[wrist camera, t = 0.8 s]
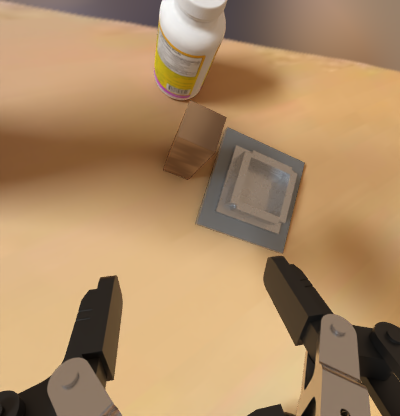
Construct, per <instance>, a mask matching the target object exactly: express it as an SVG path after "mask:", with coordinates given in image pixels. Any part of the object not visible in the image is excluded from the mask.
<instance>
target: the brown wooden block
mask: <svg viewBox="0 0 400 416" xmlns="http://www.w3.org/2000/svg"><path fill="white" fill-rule="evenodd" d="M225 120H226V117H225V116H223V115H221V114H218V113H216V112H214V111H212V110H210V109H208V108H206V107H204V106H202V105H199V104H197V103H195V102H193V101H191V100H190V102H189V104H188V107H187V109H186V112H185V114H184V117H183V119H182V122H181V124H180V126H179V129H178V131H177V134H176V136H175V139H174V141H173V144H172V146H171V149H170V152H169V154H168V157H167V160H166V163H165V165H164V168H163V170H164V171H167V172H170V173H172V174H175V175H177V176H180V177H182V178H185V179H187V180H188V179H189V178H190V177H191V176H192V175H193V174H194V173H195V172H196V171H197V170H198V169H199V168H200V167H201V166H202V165H203V164H204V163H205V162H206V161H207V160H208V159H209V158H210V157H211V156H212V155H213V154H214V153H215V152H216V148H217V145H218V142H219V139H220V136H221V133H222V130H223V127H224V124H225Z"/></svg>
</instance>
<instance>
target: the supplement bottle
mask: <svg viewBox="0 0 400 416" xmlns="http://www.w3.org/2000/svg"><path fill="white" fill-rule="evenodd" d="M226 2H227V0H162V3H161V6H160V13H159V24H158V34H157V45H156V55H155V65H154V77H155V81H156V83H157V85H158V87H159V88H160V89H161V91H162V92H163V93H164V94H166V95H167V96H169V97H171V98H173V99H176V100H187V99H190V98H192V97H194V96H195V95H196V94H197V93H198V92H199V91H200V89H201V87H202V85H203V83H204V81H205V78H206V76H207V74H208V71H209V69H210V67H211V65H212V62H213V60H214V58H215V55H216V53H217V51H218V49H219V47H220V44H221V42H222V40H223V37H224V34H225V28H226V21H225V15H224V8H225V5H226Z"/></svg>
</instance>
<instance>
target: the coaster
mask: <svg viewBox="0 0 400 416" xmlns="http://www.w3.org/2000/svg"><path fill="white" fill-rule="evenodd" d="M236 145H237V146H239V147H242V148H244V149H246V150H248V151H253V150H254V151H256V152H259V153H261V154H263V155H265V156H267V157H270V158H272V159H274V160H276V161H279V162H281V163H283V164H285V165H287V166H290V167H292V170H293V171H294V172H295V173H297V178H296V182H295V186H294V190H293V194H292V198H291V202H290V206H289V210H288V214H287V218H286V222H285V223H281V227H280V231H279V234H274V233H272V232H269V231H266V230H264V229H261V228H258V227H255V226H253V225H250V224H247V223H244V222H242V221H239V220H236V219H234V218H231V217H228V216H225V215H223V214H220V213H217V212H215V209H216V205H217V202H218V199H219V196H220V192H221V189H222V186H223V183H224V179H225V176H226V173H227V169H228V166H229V163H230V160H231V156H232V153H233V150H234V147H235V146H236ZM304 164H305V163H304V162H302V161H300V160H298V159H295V158H293V157H291V156H289V155H287V154H285V153H282V152H280V151H278V150H276V149H274V148H272V147H269V146H267V145H265V144H263V143H261V142H259V141H257V140H254V139H252V138H250V137H248V136H246V135H244V134H241V133H239V132H237V131H235V130H233V129H231V128H228V127H227V129H226V130H225V132H224V135H223V138H222V141H221V144H220V147H219V151H218V154H217V157H216V160H215V163H214V166H213V169H212V173H211V176H210V179H209V182H208V185H207V188H206V191H205V195H204V198H203V201H202V204H201V207H200V210H199V213H198V216H197V220H196V223H195V224H197V225H200V226H203V227H206V228H208V229H211V230H214V231H217V232H220V233H223V234H226V235H229V236H231V237H234V238H237V239H240V240H243V241H246V242H249V243H252V244H255V245H257V246H260V247H263V248H266V249H269V250H272V251H275V252H278V253H283V250H284V246H285V242H286V238H287V234H288V230H289V226H290V221H291V217H292V213H293V209H294V205H295V201H296V197H297V192H298V188H299V184H300V180H301V176H302V172H303V168H304Z"/></svg>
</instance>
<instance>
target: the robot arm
mask: <svg viewBox="0 0 400 416" xmlns="http://www.w3.org/2000/svg"><path fill="white" fill-rule="evenodd" d="M263 280H264V285H265V288H266V290H267V291H268V293H269V295H270V297H271V299H272V301H273V303H274V305H275V307H276V309H277V311H278V313H279V315H280V317H281V319H282V321H283V322H284V324H285V326H286V328H287V330H288V332H289V334H290V336H291V338H292V340H293V342H294V344H295V346H298V345H303V344H304V346H305V348H306V353H305V361H304V371H303V380H302V389H301V395H300V399H299V402H298V406H297V412H296V415H294V414H290V413H287V412H283V409H282V407H281V404H279V405H274V406H270V407H266V408H261V409H257V410H255V411H254V412H252V413H251V414H249V415H248V416H371V414H370V404H369V395H370V397H371V398H372V400H373V401H374V403H375V405H376V406H377V408H378V410H379V411H380V413H381V414H382V416H400V328H399V327H397V326H395V325H393V324H391V323H387V322H379V323H377V324H376V325H375V327H374V328H367V327H361V326H355V325H351V324H350V323H349V322H348V321H347V320H346V319H344V318H343V317H341V316H338V315H335V314H333V312H332V311H331V310H330V308H329V307H328V306H327V304H326V303H325V302H324V300H323V299H322V298H321V296H320V295H319V293H318V292H317V291H316V289H315V288H314V287H313V286H312V284H311V283H310V281H309V280H308V278H307V277H306V276H305V274H304V273H303V272H302V270H300V269H299V268H298V267H296V266H295V265H294V264H290V265H289V263H288V262H287V260H286V259H285V258H284V257H283V256H275V257H269V258H268V259H267V263H266V268H265V272H264V277H263ZM122 305H123V301H122V293H121V289H120V285H119V281H118V277H117V276H107V277H101V278H100V280H99V283H98V287H97V289H93V290H89V291H88V292H87V294H86V295H85V296H84V298H83V299H82V301H81V304H80V307H79V313H78V314H77V318H76V322H75V324H74V328H73V331H72V334H71V338H70V341H69V345H68V348H67V351H66V355H65V357H64V360H63V362H62V364H61V365H60V366H59V367H58V368H57V369H56V370H55V371H54V373H53V374H52V375H51V376H50V377H49V378H47V379H46V380H45V381H43V382H41V383H39V384H37V385H35V386H33V387H31V388H29V389H27V390H25V391H23V392H21V393H19V394H17V393H15V392H14V391H2V392H0V416H122V414H121V413H120V411H119V410H118V408H117V407H116V406H115V405H114V403H113V402H112V400H111V399H110V397H109V395H108V394H107V392H106V391H105V387H106V381H110V380H114V374H115V365H116V357H117V348H118V340H119V332H120V323H121V315H122ZM395 375H396V376H397V377H396V376H395ZM398 379H399V380H398ZM361 382H362V383H361ZM368 393H369V394H368Z"/></svg>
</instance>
